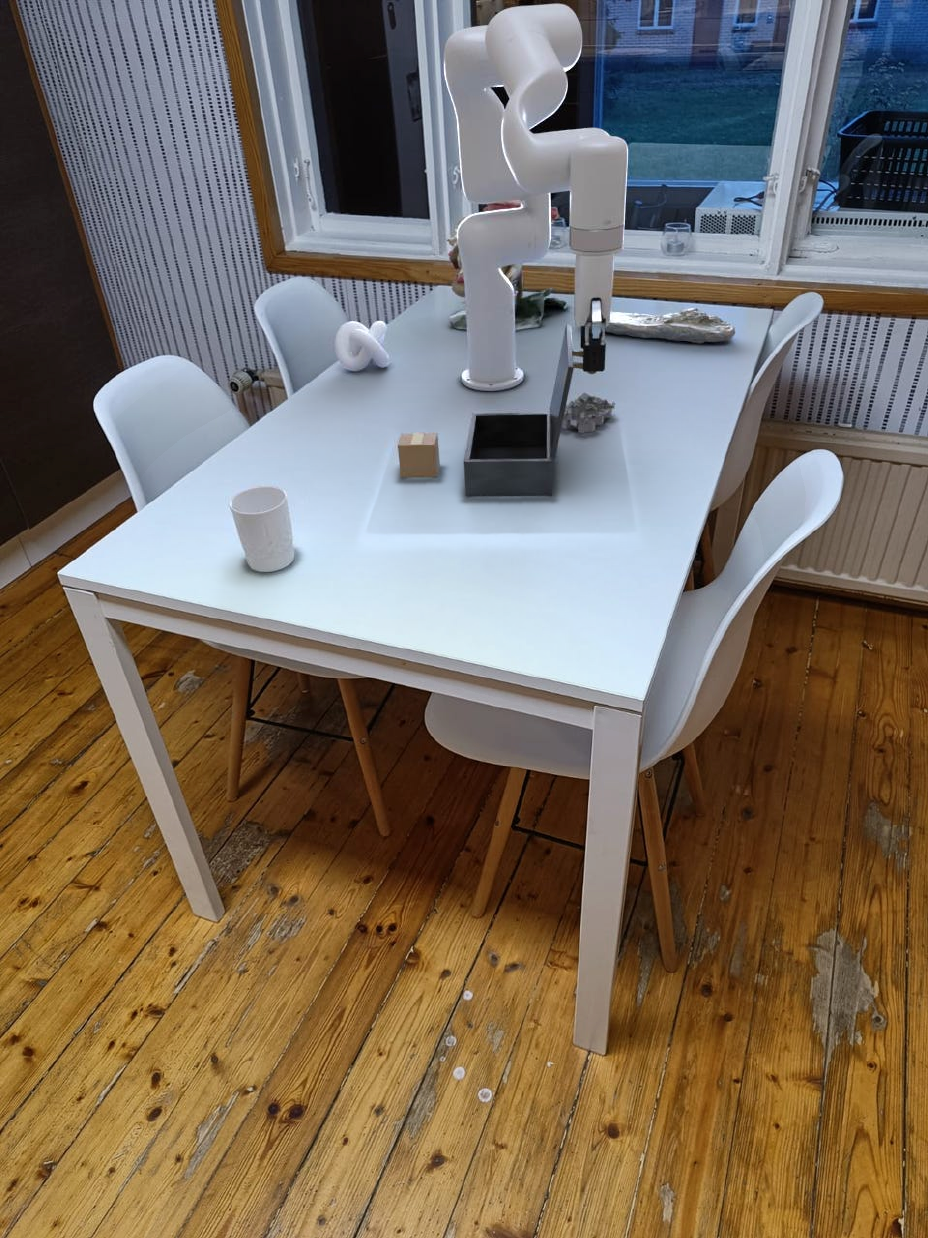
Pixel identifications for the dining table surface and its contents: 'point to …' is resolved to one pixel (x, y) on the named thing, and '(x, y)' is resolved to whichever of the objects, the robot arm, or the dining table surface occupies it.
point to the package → (418, 455)
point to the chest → (508, 455)
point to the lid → (562, 388)
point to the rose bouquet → (525, 306)
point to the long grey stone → (672, 326)
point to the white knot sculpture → (361, 345)
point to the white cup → (264, 527)
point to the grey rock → (586, 413)
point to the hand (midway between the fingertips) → (592, 358)
